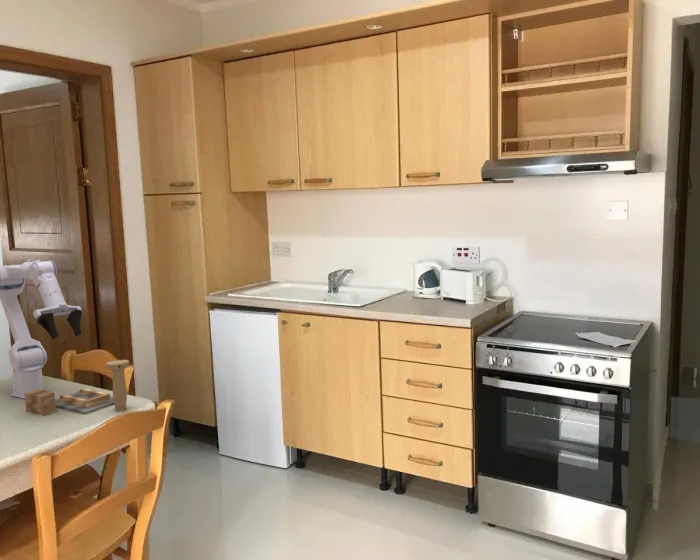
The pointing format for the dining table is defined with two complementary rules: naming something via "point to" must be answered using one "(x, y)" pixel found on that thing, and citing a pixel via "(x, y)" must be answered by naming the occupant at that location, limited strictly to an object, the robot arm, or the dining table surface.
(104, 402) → the cradle
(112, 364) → the handle
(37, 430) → the dining table surface
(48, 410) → the cabinet block
